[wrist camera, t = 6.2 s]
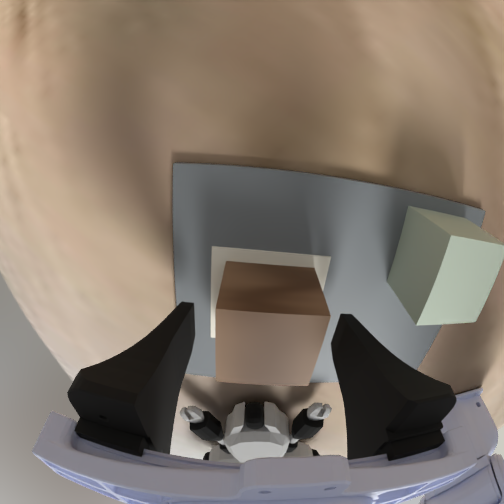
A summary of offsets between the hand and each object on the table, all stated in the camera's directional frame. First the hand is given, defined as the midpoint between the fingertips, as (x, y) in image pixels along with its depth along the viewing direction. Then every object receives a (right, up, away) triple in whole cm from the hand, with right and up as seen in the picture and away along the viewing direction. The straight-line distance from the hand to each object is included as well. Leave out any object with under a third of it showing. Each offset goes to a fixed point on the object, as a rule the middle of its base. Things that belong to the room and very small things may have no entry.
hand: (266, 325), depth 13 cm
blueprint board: (+4, +1, +2) cm, 5 cm away
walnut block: (0, +1, +2) cm, 2 cm away
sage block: (+9, +4, 0) cm, 10 cm away
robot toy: (0, -13, +10) cm, 16 cm away
